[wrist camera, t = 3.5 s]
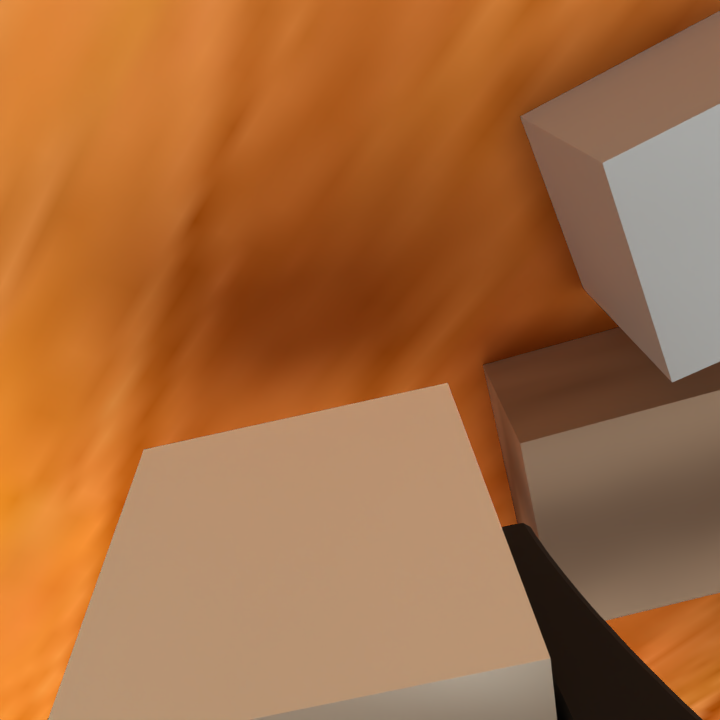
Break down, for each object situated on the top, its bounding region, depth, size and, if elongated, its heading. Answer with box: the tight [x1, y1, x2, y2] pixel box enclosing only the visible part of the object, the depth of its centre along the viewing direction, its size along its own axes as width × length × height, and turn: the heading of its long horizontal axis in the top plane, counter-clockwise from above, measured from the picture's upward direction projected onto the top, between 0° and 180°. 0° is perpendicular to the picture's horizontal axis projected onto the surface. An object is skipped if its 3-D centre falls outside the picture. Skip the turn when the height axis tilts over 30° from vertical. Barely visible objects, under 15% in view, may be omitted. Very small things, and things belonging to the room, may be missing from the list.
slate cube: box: [520, 11, 720, 382], centre depth 14 cm, size 5×5×5 cm
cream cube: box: [48, 383, 557, 720], centre depth 10 cm, size 5×5×5 cm
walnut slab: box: [483, 327, 720, 621], centre depth 19 cm, size 7×7×4 cm
